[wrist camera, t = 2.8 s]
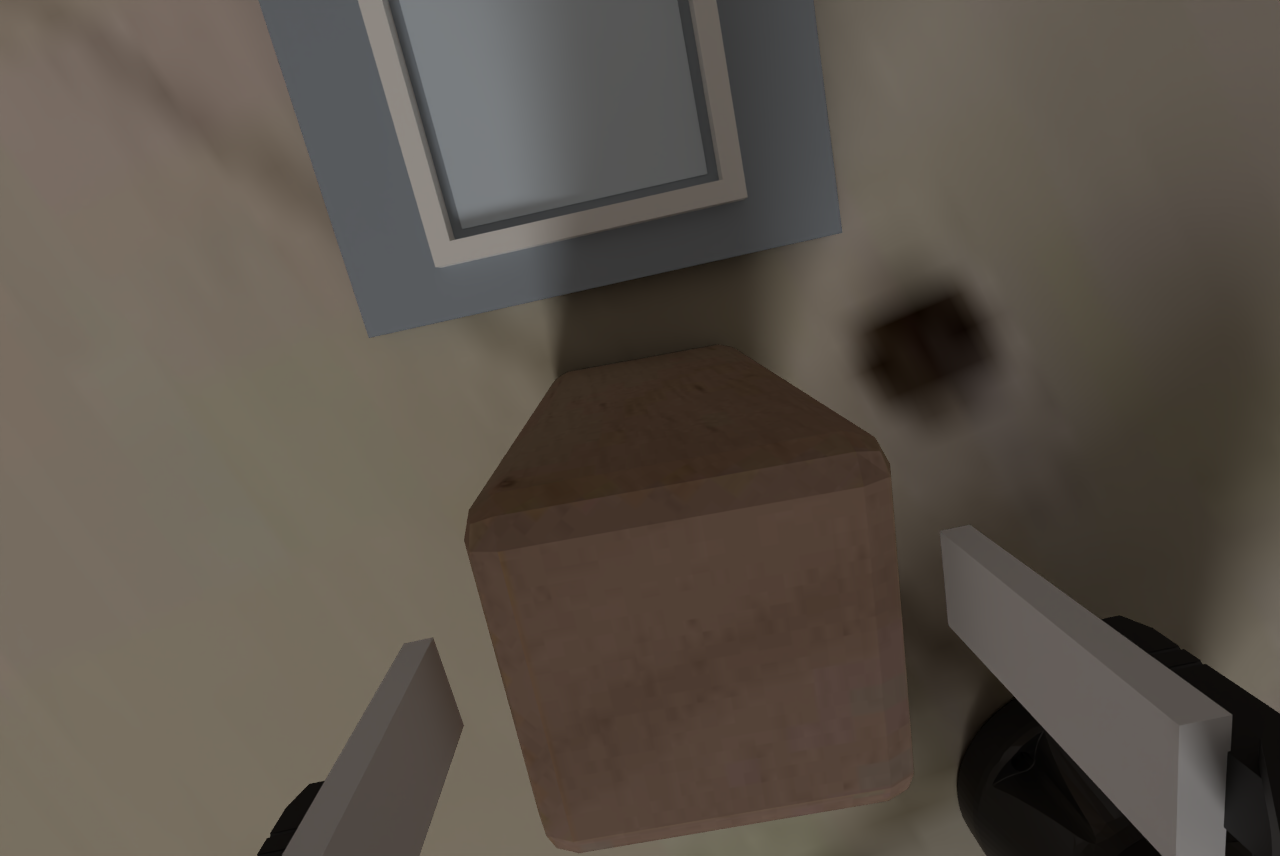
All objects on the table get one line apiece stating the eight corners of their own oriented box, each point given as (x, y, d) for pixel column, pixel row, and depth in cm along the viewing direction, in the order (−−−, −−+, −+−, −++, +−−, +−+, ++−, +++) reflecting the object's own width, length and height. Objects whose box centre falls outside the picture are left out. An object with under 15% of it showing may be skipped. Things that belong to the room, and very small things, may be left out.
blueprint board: (770, -241, 26) (786, -294, 23) (831, 234, 31) (849, 231, 28) (237, -111, 26) (198, -150, 24) (380, 334, 31) (360, 339, 29)
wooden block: (550, 372, 32) (440, 517, 13) (734, 338, 32) (906, 434, 12) (587, 541, 35) (542, 879, 15) (758, 510, 34) (934, 813, 15)
